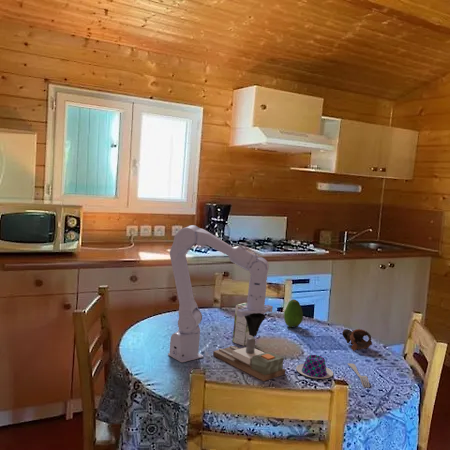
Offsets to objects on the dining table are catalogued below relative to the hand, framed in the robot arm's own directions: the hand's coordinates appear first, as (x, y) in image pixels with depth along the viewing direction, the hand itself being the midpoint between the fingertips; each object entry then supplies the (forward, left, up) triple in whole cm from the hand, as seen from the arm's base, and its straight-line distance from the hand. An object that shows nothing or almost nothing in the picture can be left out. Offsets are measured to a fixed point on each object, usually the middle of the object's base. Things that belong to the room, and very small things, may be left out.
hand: (252, 335), depth 161 cm
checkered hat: (+15, -15, -11) cm, 24 cm away
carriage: (0, 0, -8) cm, 8 cm away
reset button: (0, -8, -7) cm, 11 cm away
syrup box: (+13, +17, -11) cm, 23 cm away
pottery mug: (+49, -9, -11) cm, 50 cm away
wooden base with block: (0, +1, -10) cm, 10 cm away
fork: (+26, -25, -11) cm, 37 cm away
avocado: (+45, +20, -11) cm, 50 cm away
